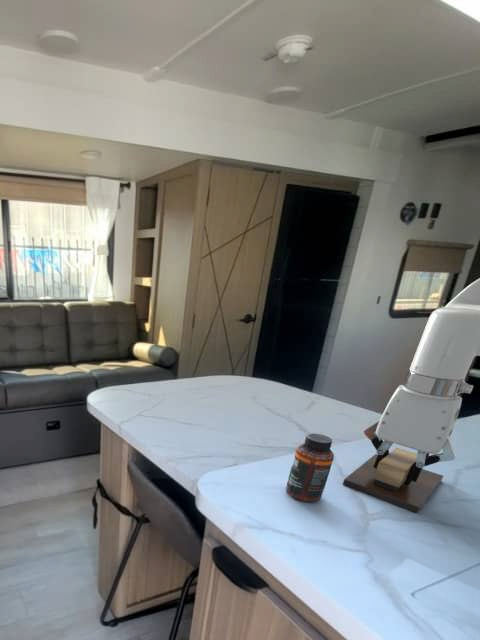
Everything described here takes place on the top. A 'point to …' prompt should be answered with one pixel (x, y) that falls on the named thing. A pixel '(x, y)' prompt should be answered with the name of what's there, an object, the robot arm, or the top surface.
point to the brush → (394, 469)
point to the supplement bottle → (310, 468)
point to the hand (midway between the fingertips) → (393, 476)
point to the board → (404, 497)
